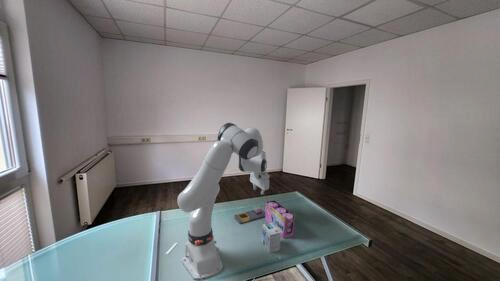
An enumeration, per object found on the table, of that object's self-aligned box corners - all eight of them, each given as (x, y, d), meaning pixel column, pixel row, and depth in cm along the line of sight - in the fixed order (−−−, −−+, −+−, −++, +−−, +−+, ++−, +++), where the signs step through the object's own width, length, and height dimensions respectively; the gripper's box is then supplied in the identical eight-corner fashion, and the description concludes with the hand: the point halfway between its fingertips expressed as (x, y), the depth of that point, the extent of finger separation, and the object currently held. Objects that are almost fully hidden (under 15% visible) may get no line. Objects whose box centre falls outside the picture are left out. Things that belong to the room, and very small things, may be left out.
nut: (261, 215, 141) (261, 208, 141) (256, 217, 139) (256, 209, 139) (258, 213, 145) (258, 205, 144) (253, 214, 143) (253, 207, 142)
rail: (266, 216, 141) (266, 212, 141) (239, 224, 130) (239, 220, 130) (260, 212, 148) (260, 208, 148) (234, 219, 137) (234, 214, 137)
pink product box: (295, 236, 119) (296, 216, 117) (284, 240, 115) (286, 218, 114) (274, 218, 140) (274, 200, 138) (264, 220, 137) (265, 202, 135)
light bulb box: (261, 241, 114) (261, 223, 113) (271, 238, 116) (272, 222, 115) (269, 253, 104) (270, 234, 103) (280, 250, 106) (281, 232, 105)
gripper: (248, 169, 145) (247, 187, 147) (263, 177, 128) (262, 197, 129) (255, 168, 148) (254, 186, 150) (271, 176, 131) (270, 196, 133)
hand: (258, 191), depth 140 cm, fingers open, 8 cm apart
